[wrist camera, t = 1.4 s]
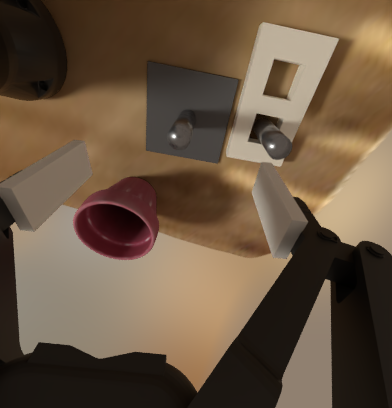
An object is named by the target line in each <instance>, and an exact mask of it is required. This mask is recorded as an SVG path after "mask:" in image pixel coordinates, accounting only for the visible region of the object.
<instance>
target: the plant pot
mask: <svg viewBox="0 0 392 408" xmlns="http://www.w3.org/2000/svg"><path fill="white" fill-rule="evenodd" d="M156 199H157V197H156V193H155V190H154V189H153V187H152V186H151V185H150V184H149V183H148V182H146V181H145V180H143V179H140V178H137V177H127V178H124V179H122V180H121V181H119V182H118V183H116V184H115V185H113V186H111V187H110V188H108V189H105V190H100V191H97V192H95V193H93V194H92V195H90V196H89V197H88V198H87V199H86V200H85V201H84V203H83V204H82V205H81V206H80V207H79V209H78V210H77V212H76V213H75V215H74V219H73V224H74V229H75V232H76V234H77V235H78V237H79V239H80V240H81V241H82V242H83V243H84V244H85V245H86V246H87V247H89V248H90V249H91V250H93V251H95V252H96V253H99V254H101V255H103V256H106V257H109V258H113V259H119V260H132V259H137V258H140V257H142V256H144V255H146V254H147V253H148V252H149V251H150V250H151V249H152V247H153V245H154V243H155V240H156V237H157V234H158V231H159V221H158V218H157V215H156Z"/></svg>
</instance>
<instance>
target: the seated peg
mask: <svg viewBox="0 0 392 408" xmlns="http://www.w3.org/2000/svg"><path fill="white" fill-rule="evenodd" d="M253 131H254V132H255V134H256V136H257V137H258V139H259V140H260V142H261V144H262V145H263V147H264V148H265V150H266V152H267V153H268V155H269V156H270V157H271V158H272V159H274V160H280V159H283V158H285V157H287V156H288V155H289V154H290V152H291V150H292V142H291V141H290V139H288V138H287V137H286V136H285V135H284V134H283V133H282V132H281V131H280V130H279V129H278V128H277V127H276V126H275V125H274V124H273V123H272V122H271V121H270V120H269V119H267V118H264V117H263V118H259V119H258V120H256V122H255V123H254V125H253Z"/></svg>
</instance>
